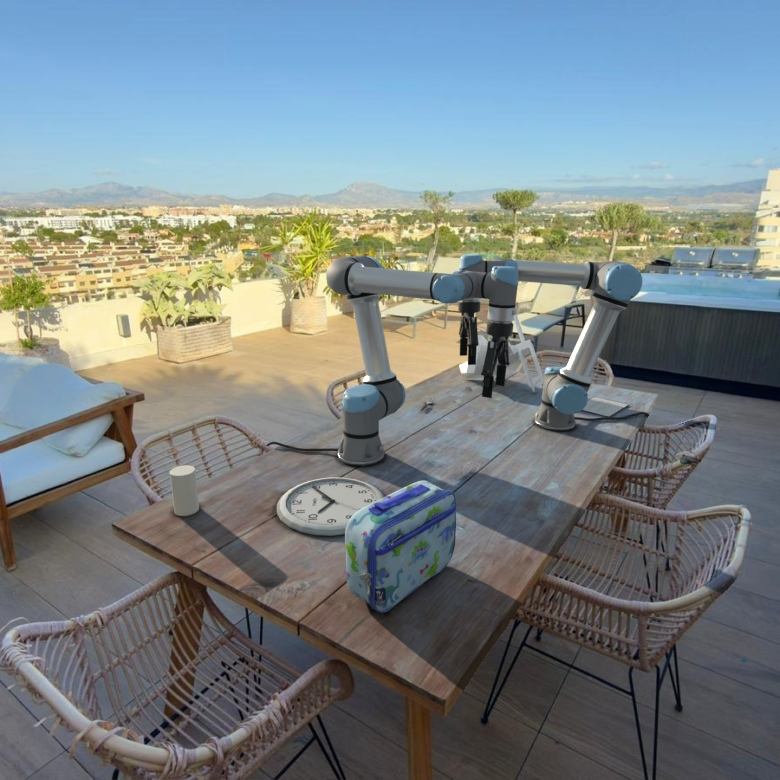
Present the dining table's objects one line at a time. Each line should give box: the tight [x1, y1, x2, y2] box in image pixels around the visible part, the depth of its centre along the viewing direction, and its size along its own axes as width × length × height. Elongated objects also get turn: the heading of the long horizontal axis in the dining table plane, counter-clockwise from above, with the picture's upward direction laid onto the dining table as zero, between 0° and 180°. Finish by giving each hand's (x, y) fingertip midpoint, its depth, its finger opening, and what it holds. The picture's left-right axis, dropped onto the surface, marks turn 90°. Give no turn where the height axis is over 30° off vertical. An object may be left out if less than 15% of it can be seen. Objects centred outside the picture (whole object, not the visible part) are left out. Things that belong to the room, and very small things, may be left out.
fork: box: [420, 396, 435, 411], centre depth 223 cm, size 3×16×2 cm, turn 160°
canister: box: [169, 464, 200, 517], centre depth 138 cm, size 6×6×12 cm
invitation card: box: [581, 396, 629, 417], centre depth 226 cm, size 21×1×15 cm
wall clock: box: [276, 476, 386, 537], centre depth 142 cm, size 30×2×30 cm
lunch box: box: [344, 480, 457, 614], centre depth 109 cm, size 26×11×21 cm, turn 135°
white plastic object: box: [458, 309, 544, 393], centre depth 255 cm, size 37×45×31 cm
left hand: (493, 391), depth 158 cm, fingers open, 13 cm apart
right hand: (467, 359), depth 188 cm, fingers open, 13 cm apart
